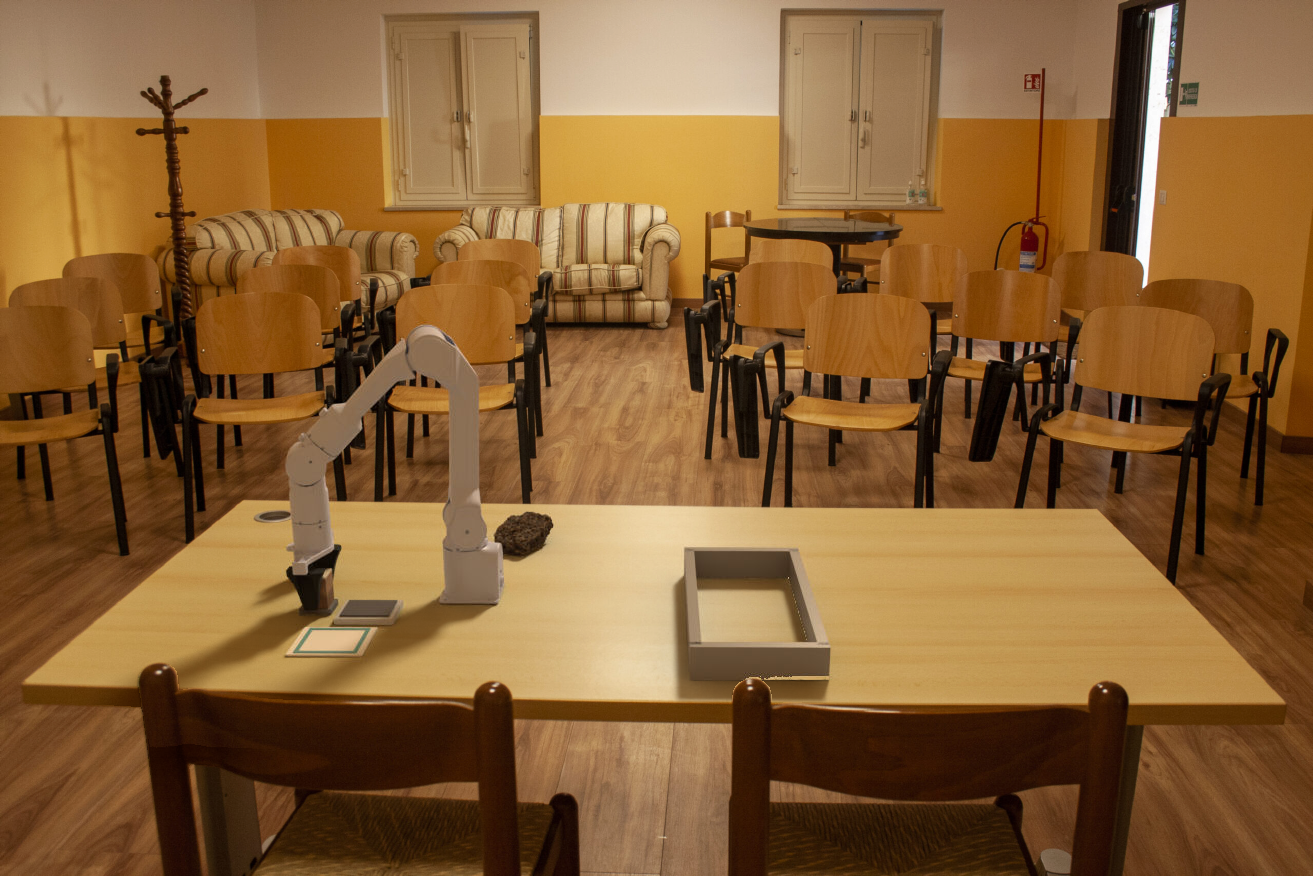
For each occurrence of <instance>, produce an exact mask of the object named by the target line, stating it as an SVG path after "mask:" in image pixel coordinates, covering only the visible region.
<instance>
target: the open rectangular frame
mask: <svg viewBox="0 0 1313 876" xmlns="http://www.w3.org/2000/svg"><path fill="white" fill-rule="evenodd" d="M683 552H684V553H683V557H684V559H683V563H684V564H683V578H684V579H683V581H684V599H685V618H686V619H685V621H686V635H687V636H686V637H687V638H686V639H687V655H688V657H687V658H688V673H689V675H688V677H689V681H743V680H742V679H746V678H749V677H759V678H761V679H763V680H762V681H765V680H764V678H766V679H768V678H770V677H775V676H777V677H782V676H783V677H789V676H790V677H792V676H829V677H830V668H831V667H830V665H831V649H832V648H831V645H830V642H829V638H828V636H827V633H826V630H825V626H824V624H823V620H822V617H821V615H820V612H819V608H818V604H817V602H816V599H815V596H814V593H813V590H812V587H811V583H810V580H809V578H808V575H807V571H806V568H805V565H804V562H803V559H802V557H801V553H800V550H799V547H750V546H749V547H741V546H740V547H738V546H737V547H734V546H733V547H726V546H725V547H718V546H717V547H716V546H715V547H712V546H711V547H709V546H705V547H703V546H701V547H697V546H696V547H695V546H693V547H692V546H688V547H686V546H685V547H684V550H683ZM788 577H789V579H788V582H789V581H790V583H789V585H790V584H791V586H790V589H791V588H792V590H791V592H792V591H793V593H792V595H793V594H794V597H793V599H794V598H795V600H794V602H795V601H796V604H795V606H796V605H797V607H796V609H797V608H798V611H799V614H798V616H799V615H800V618H801V621H800V623H801V622H802V625H803V628H804V631H805V635H806V639H807V642H806V641H795V642H794V641H702V636H701V634H702V633H701V623H700V622H701V621H700V608H699V596H698V595H699V594H698V581H697V579H723V580H724V579H734V580H735V579H737V580H738V579H744V578H746V580H747V579H748V578H788ZM744 580H745V579H744ZM798 611H797V612H798ZM800 618H799V619H800ZM802 625H801V626H802ZM803 628H802V629H803ZM805 635H804V636H805ZM806 639H805V640H806ZM760 676H761V677H760Z"/></svg>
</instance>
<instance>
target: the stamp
mask: <svg viewBox="0 0 1313 876" xmlns="http://www.w3.org/2000/svg"><path fill="white" fill-rule="evenodd" d="M334 590H335V589H334V579H333V577H332V569H326V570H325V572H324V575H323V578H322V582H321V588H320V603H319V608H318V610H304V608H303V606H302V604H301V605H300V607H299V608H298V615H299V616H332V615H333V613H334V612H335V610H336V609H337V607H338V606H339V599H338V598H335V592H334Z"/></svg>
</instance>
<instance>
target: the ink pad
mask: <svg viewBox="0 0 1313 876" xmlns="http://www.w3.org/2000/svg"><path fill="white" fill-rule="evenodd" d="M403 608H404V599H345V601H344V603H343V604H342V606H341V607H340V609H339V610H338V611H337V613H336V615H335V616H334V618H333V624H334V625H335V626H337V625H341V626H342V625H344V626H345V625H346V626H348V625H349V626H351V625H352V626H354V625H355V626H357V625H359V626H361V625H362V626H365V625H366V626H367V625H368V626H379V625H380V626H393V625H394V624H395V622H396V620H397V618H398V617H399V614H400V613H401V612H402V610H403Z"/></svg>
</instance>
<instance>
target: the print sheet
mask: <svg viewBox="0 0 1313 876" xmlns="http://www.w3.org/2000/svg"><path fill="white" fill-rule="evenodd" d="M378 629H379V628H378V627H377V626H375V627H374V626H372V627H365V626H363V627H362V626H361V627H360V626H359V627H358V626H355V627H354V626H353V627H352V626H344V627H343V626H339V627H338V626H311V627H310V626H304V627H303V629H302V630H301V632H300V633H299V634H298V636H297V637H296V639H295V640H294V642H292V644H291V646H290V648H289V649H287V652H286V653H285V657H351V658H352V657H355V658H356V657H363V656H364V654H365V653H366V650H367V649H368V647H369V645H370V644H371V642H372V640H373V638H374V637H375V634H376V633H377V631H378Z"/></svg>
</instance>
